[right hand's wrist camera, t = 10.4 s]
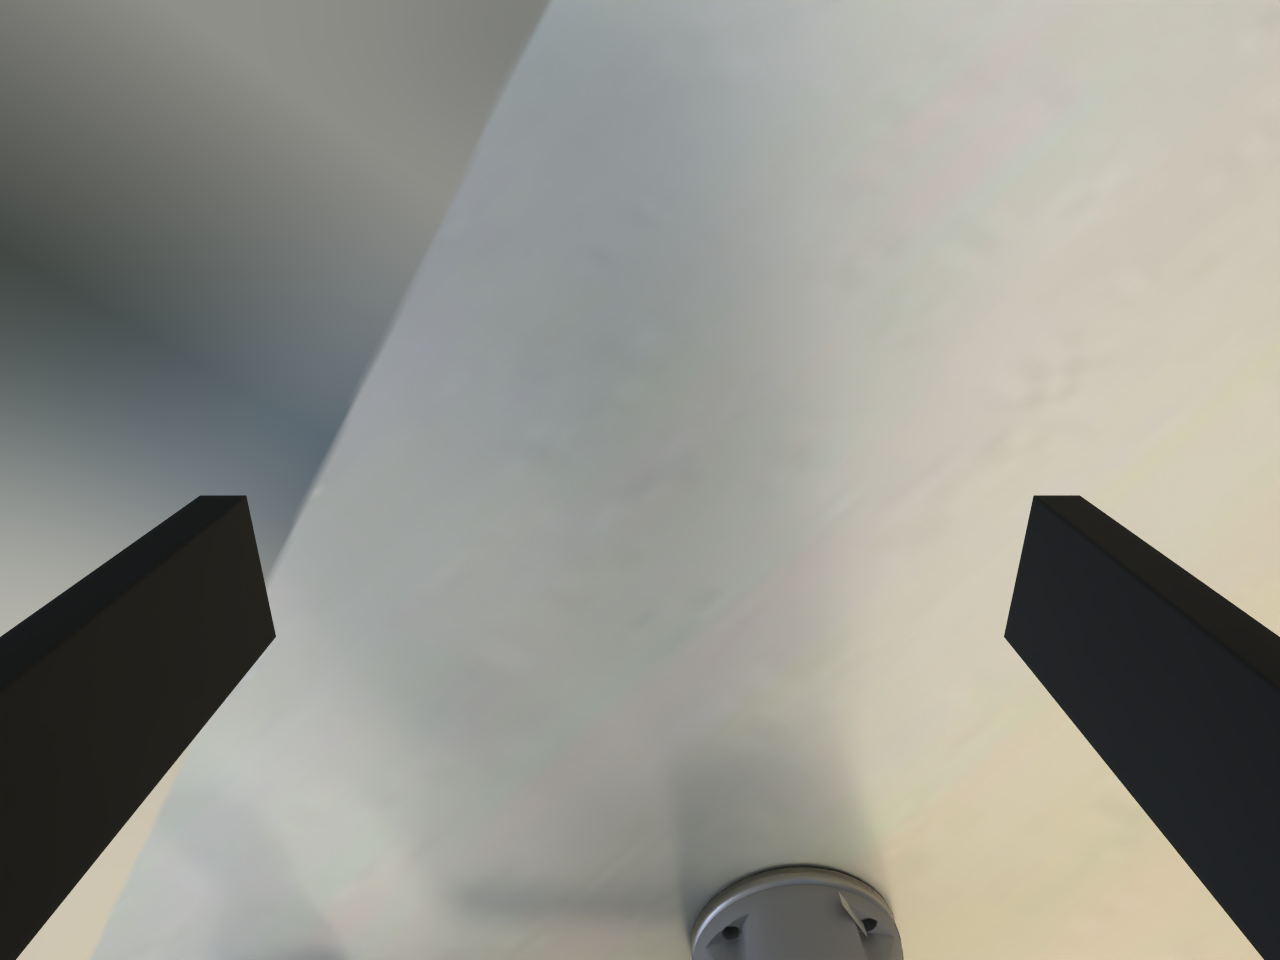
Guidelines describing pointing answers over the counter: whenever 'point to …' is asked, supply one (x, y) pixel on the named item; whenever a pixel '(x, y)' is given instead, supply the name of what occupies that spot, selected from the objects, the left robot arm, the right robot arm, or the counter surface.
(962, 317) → the counter surface
